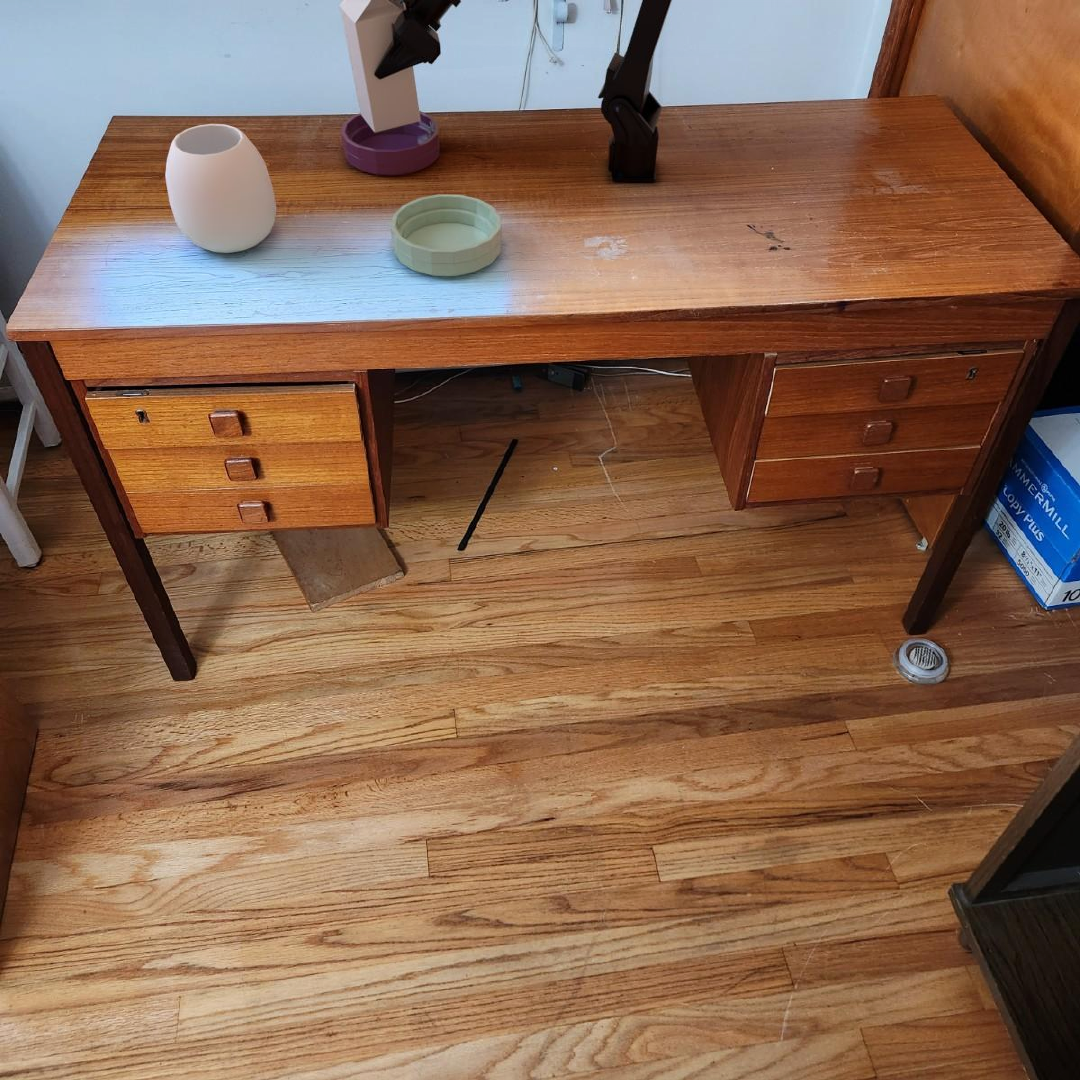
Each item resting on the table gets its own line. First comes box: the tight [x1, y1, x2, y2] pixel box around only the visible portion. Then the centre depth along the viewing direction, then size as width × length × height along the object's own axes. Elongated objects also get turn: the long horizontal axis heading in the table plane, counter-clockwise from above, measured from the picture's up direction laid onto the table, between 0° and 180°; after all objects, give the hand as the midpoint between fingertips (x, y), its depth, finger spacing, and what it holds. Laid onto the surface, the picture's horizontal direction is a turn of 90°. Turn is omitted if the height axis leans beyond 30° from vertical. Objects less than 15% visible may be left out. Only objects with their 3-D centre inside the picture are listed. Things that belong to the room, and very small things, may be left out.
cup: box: [164, 123, 278, 254], centre depth 123 cm, size 13×13×14 cm
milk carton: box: [339, 0, 421, 133], centre depth 133 cm, size 7×7×19 cm
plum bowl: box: [340, 110, 441, 177], centre depth 143 cm, size 14×14×4 cm
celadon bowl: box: [390, 193, 502, 277], centre depth 126 cm, size 14×14×4 cm
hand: (374, 64), depth 135 cm, fingers closed on milk carton, 8 cm apart
